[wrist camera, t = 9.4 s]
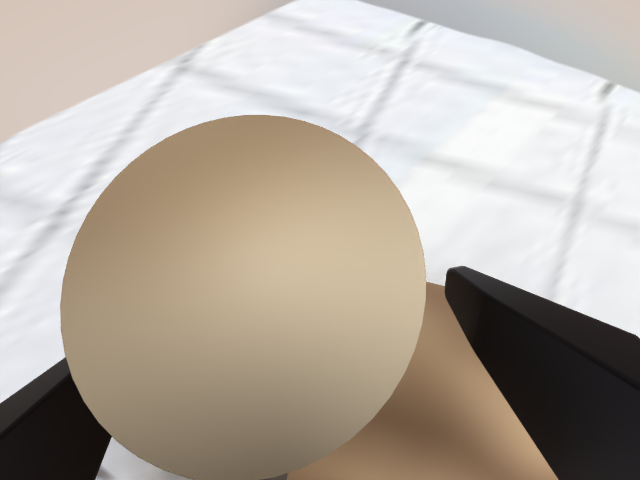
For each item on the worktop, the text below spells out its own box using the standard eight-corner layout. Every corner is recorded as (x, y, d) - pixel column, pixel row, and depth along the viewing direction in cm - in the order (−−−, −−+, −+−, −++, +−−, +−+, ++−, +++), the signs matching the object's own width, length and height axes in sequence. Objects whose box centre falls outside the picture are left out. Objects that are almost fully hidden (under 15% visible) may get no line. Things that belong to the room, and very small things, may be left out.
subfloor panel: (584, 693, 13) (626, 755, 11) (184, 559, 14) (164, 594, 12) (581, 323, 17) (611, 325, 15) (275, 250, 18) (271, 243, 16)
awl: (354, 320, 15) (502, 350, 3) (290, 354, 15) (117, 582, 2) (322, 258, 16) (322, 72, 4) (261, 289, 16) (27, 194, 3)
